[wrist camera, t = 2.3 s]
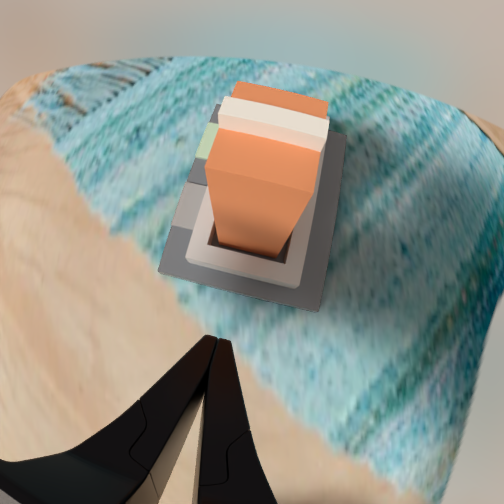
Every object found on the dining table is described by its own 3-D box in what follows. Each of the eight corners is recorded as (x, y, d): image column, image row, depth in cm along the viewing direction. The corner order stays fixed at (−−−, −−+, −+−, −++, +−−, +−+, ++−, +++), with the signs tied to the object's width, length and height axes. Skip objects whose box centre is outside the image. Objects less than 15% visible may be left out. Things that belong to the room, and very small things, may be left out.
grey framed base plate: (315, 312, 19) (325, 310, 17) (160, 273, 19) (151, 266, 17) (343, 140, 22) (352, 124, 20) (217, 110, 22) (215, 91, 20)
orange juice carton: (275, 258, 19) (319, 182, 9) (219, 244, 19) (202, 154, 9) (289, 198, 20) (333, 88, 10) (236, 185, 20) (237, 66, 10)
